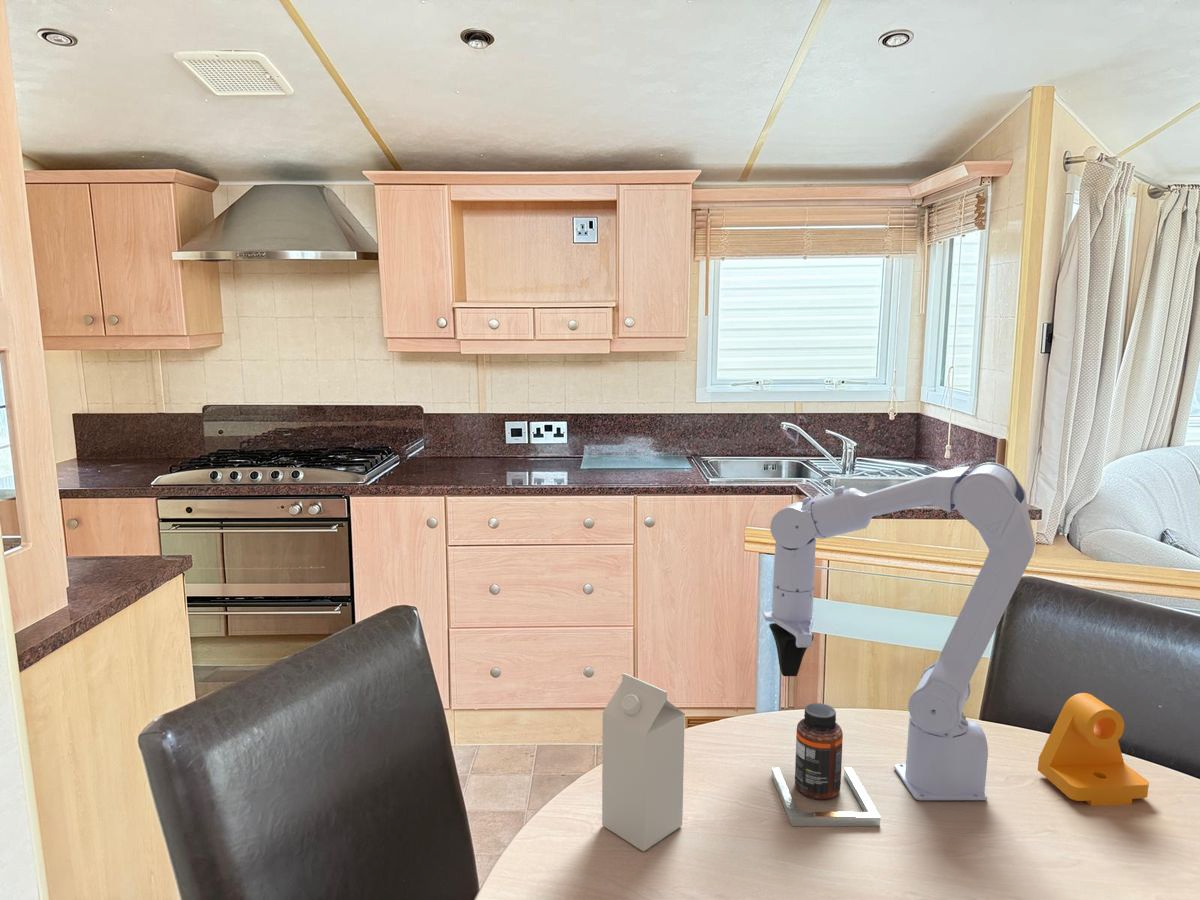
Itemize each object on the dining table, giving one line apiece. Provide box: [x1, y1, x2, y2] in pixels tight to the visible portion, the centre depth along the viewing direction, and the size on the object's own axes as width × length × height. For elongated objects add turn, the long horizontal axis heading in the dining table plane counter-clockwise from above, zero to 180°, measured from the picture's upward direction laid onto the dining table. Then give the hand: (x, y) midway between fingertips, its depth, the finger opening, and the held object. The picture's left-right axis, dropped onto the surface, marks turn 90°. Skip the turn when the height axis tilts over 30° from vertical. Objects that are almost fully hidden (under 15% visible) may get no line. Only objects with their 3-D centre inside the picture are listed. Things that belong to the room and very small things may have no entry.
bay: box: [771, 767, 881, 827], centre depth 103 cm, size 11×11×1 cm
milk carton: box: [601, 672, 686, 852], centre depth 96 cm, size 7×7×19 cm
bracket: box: [1037, 692, 1150, 807], centre depth 105 cm, size 11×7×12 cm, turn 94°
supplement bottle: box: [794, 702, 844, 800], centre depth 104 cm, size 6×6×11 cm
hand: (788, 674), depth 116 cm, fingers closed
